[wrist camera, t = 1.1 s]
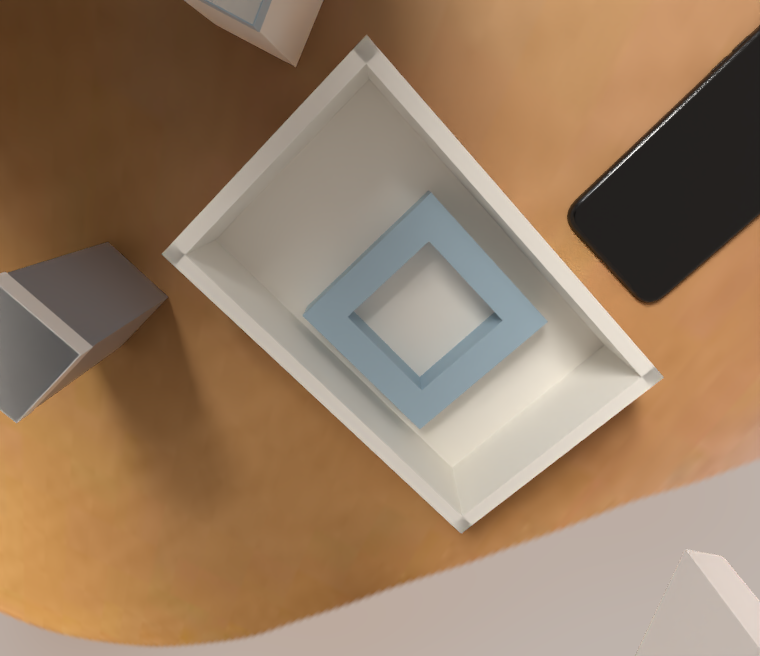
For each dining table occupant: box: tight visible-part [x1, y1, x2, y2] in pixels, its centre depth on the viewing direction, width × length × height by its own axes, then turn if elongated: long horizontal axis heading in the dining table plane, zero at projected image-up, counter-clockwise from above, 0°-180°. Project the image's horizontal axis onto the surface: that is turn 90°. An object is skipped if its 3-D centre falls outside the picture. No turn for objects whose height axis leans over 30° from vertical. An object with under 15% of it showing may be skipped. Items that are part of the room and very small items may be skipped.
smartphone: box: [567, 25, 760, 303], centre depth 30 cm, size 8×1×16 cm
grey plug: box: [0, 242, 168, 423], centre depth 28 cm, size 5×5×10 cm
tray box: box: [162, 35, 664, 533], centre depth 30 cm, size 22×14×6 cm, turn 44°
